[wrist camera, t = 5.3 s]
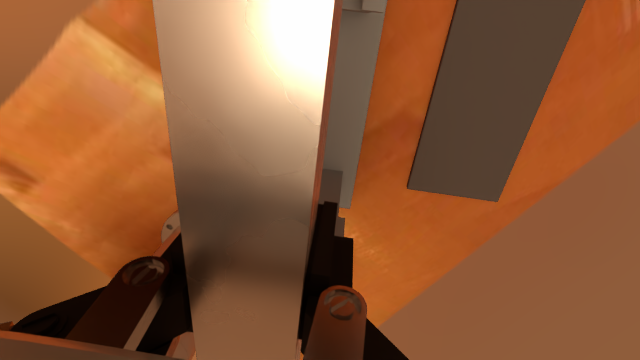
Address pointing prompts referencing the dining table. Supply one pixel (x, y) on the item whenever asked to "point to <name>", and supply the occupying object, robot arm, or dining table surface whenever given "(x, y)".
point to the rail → (247, 161)
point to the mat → (489, 92)
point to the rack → (350, 100)
